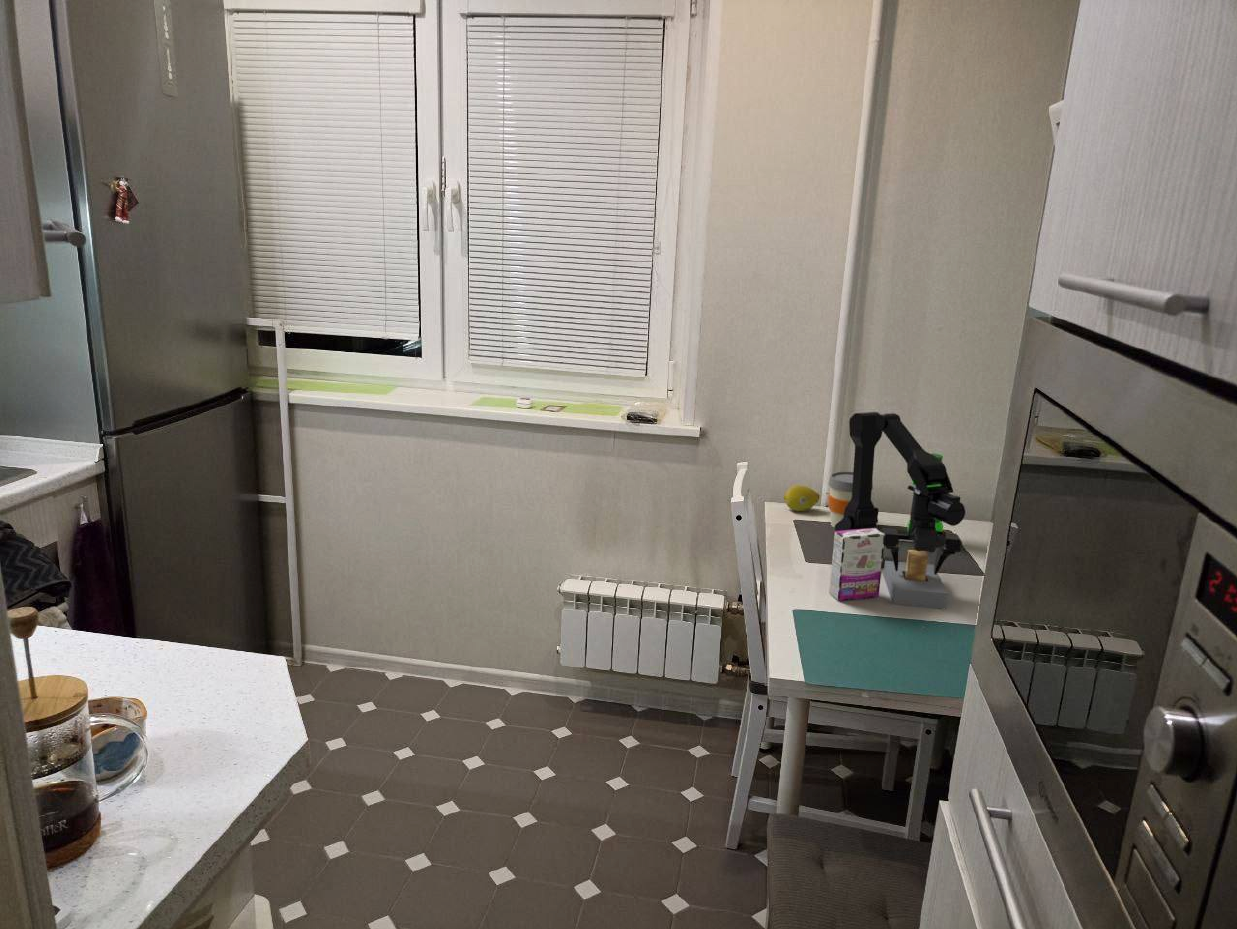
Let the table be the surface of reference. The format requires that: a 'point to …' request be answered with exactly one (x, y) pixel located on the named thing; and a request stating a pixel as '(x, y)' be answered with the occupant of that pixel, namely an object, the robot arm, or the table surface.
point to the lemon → (801, 498)
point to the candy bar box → (857, 564)
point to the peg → (916, 565)
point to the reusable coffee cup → (840, 494)
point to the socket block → (914, 587)
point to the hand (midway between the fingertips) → (915, 572)
